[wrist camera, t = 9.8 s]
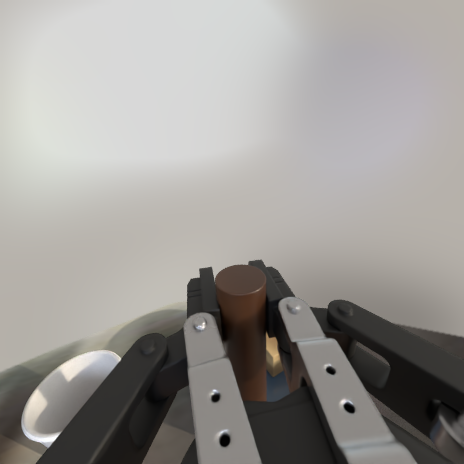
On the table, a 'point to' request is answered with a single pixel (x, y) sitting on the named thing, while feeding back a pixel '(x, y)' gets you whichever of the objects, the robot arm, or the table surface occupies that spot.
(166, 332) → the table surface
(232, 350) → the cylinder
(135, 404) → the robot arm
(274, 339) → the wooden block
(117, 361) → the dixie cup
